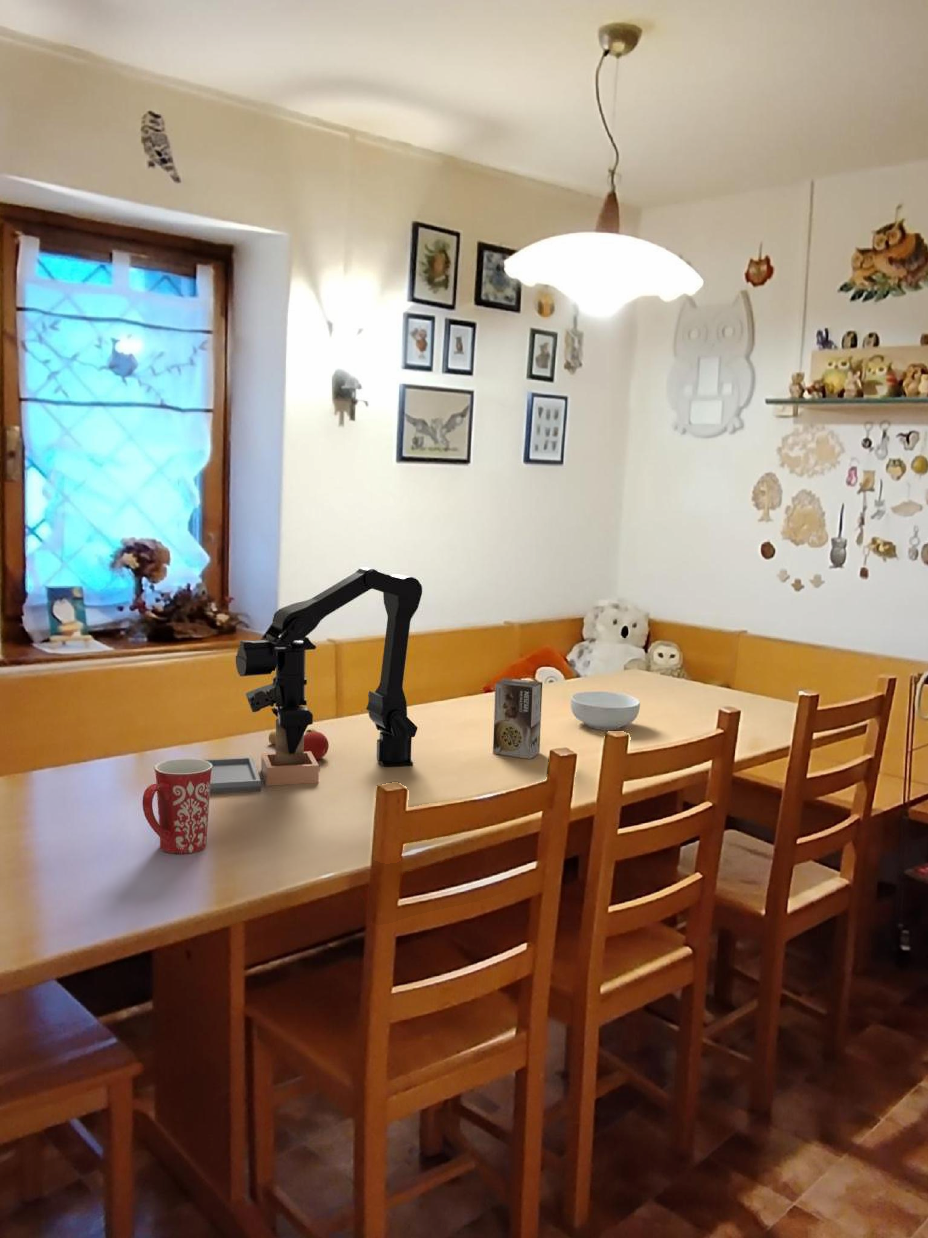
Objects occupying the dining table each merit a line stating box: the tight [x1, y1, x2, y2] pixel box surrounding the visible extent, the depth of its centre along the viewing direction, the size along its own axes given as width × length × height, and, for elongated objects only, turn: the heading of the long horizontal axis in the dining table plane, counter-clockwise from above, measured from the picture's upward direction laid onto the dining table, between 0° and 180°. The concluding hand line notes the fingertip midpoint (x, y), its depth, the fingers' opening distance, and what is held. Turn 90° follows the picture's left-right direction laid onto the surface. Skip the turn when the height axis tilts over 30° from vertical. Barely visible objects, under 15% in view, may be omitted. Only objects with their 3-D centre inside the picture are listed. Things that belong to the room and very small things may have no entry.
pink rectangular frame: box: [260, 751, 320, 786], centre depth 206 cm, size 10×10×4 cm
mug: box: [142, 757, 213, 855], centre depth 165 cm, size 13×9×14 cm
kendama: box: [268, 728, 330, 761], centre depth 222 cm, size 8×6×18 cm
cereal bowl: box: [570, 690, 641, 731], centre depth 255 cm, size 17×17×7 cm
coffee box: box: [492, 677, 543, 760], centre depth 227 cm, size 9×6×16 cm
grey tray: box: [200, 756, 262, 795], centre depth 202 cm, size 11×16×2 cm
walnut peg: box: [275, 718, 305, 766], centre depth 205 cm, size 6×6×11 cm
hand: (289, 749), depth 205 cm, fingers closed on walnut peg, 5 cm apart
